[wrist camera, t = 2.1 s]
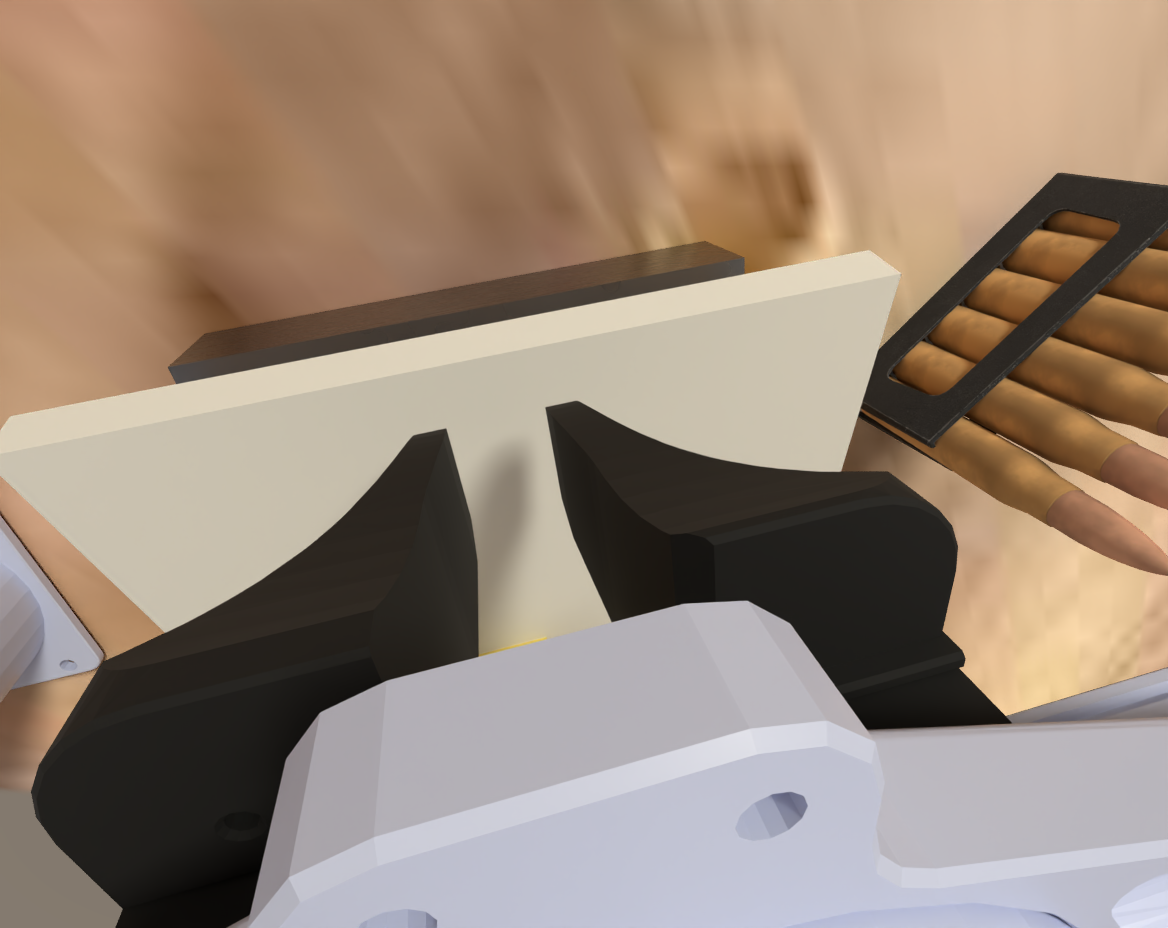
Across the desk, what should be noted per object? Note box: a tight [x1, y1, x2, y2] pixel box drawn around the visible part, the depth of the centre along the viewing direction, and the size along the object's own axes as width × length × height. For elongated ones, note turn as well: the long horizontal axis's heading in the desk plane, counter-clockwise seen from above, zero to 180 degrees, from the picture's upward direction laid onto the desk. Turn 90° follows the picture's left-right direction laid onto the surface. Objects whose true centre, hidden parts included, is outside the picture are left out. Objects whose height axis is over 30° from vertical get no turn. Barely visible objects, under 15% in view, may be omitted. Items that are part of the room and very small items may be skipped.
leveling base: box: [168, 241, 744, 384], centre depth 21 cm, size 16×14×5 cm
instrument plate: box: [0, 250, 901, 657], centre depth 16 cm, size 18×16×5 cm
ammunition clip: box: [858, 173, 1168, 576], centre depth 19 cm, size 11×2×12 cm, turn 138°
